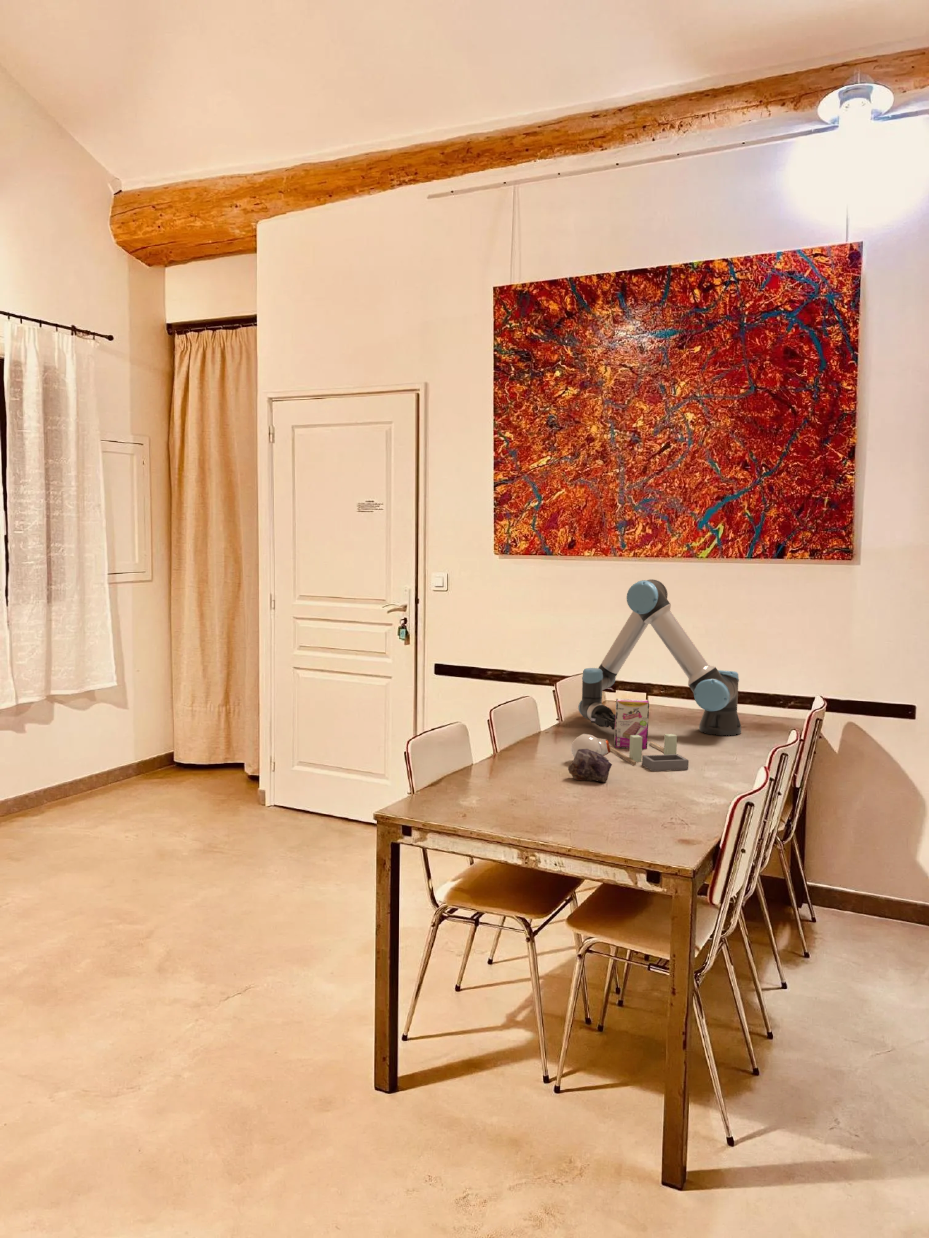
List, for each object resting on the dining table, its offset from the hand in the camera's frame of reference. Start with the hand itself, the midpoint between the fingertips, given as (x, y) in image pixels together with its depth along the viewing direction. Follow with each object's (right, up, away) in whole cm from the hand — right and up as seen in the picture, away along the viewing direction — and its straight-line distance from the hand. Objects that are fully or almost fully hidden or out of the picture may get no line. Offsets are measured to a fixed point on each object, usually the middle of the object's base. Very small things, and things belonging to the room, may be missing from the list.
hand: (624, 727), depth 334 cm
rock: (-18, -10, -46) cm, 50 cm away
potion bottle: (-15, -8, -24) cm, 29 cm away
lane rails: (+4, -7, -13) cm, 16 cm away
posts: (+6, -8, -21) cm, 23 cm away
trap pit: (+8, -9, -30) cm, 32 cm away
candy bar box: (+2, -7, -3) cm, 7 cm away
